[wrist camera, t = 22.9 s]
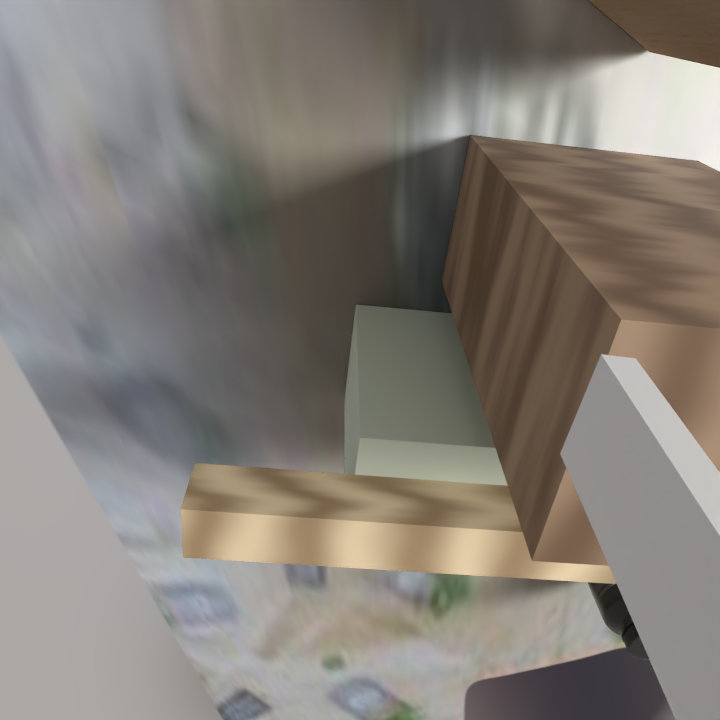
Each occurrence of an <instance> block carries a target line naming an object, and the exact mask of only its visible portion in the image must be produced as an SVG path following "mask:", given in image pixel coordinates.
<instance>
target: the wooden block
mask: <svg viewBox="0 0 720 720" xmlns="http://www.w3.org/2000/svg"><path fill="white" fill-rule="evenodd" d="M588 1H590V2H591V3H592V4H593V5H594V6H596V7H597V8H598V9H599V10H600V11H601V12H603V13H604V14H605V15H606V16H607V17H609V18H610V19H611V20H612V21H613V22H615V23H616V24H617V25H618V26H619V27H621V28H622V29H623V30H624V31H625V32H626V33H628V34H629V35H630V36H631V37H632V38H634V39H635V40H636V41H637V42H638V43H640V44H641V45H642V46H643V47H644V48H646V49H647V50H648V51H649V52H652V53H657V54H661V55H666V56H670V57H675V58H679V59H684V60H688V61H692V62H697V63H701V64H706V65H710V66H715V67H719V68H720V0H588Z"/></svg>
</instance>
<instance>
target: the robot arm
mask: <svg viewBox="0 0 720 720" xmlns="http://www.w3.org/2000/svg"><path fill="white" fill-rule="evenodd" d="M560 455H561V457H562V459H563V461H564V464H565V466H566V468H567V471H568V473H569V475H570V478H571V480H572V482H573V484H574V487H575V489H576V491H577V494H578V496H579V498H580V501H581V503H582V505H583V507H584V510H585V512H586V514H587V517H588V519H589V521H590V524H591V526H592V528H593V530H594V533H595V535H596V537H597V540H598V542H599V544H600V547H601V549H602V551H603V553H604V556H605V558H606V560H607V563H608V565H609V567H610V570H611V572H612V574H613V576H614V579H615V581H616V583H617V586H618V588H619V590H620V593H621V595H622V597H623V599H624V602H625V604H626V606H627V609H628V611H629V613H630V616H631V618H632V620H633V622H634V625H635V627H636V629H637V632H638V634H639V636H640V639H641V641H642V643H643V645H644V648H645V650H646V652H647V655H648V657H649V659H650V662H651V664H652V666H653V668H654V671H655V673H656V675H657V678H658V680H659V682H660V685H661V687H662V689H663V691H664V694H665V696H666V698H667V700H668V703H669V705H670V708H671V710H672V712H673V714H674V717H675V719H676V720H720V472H719V471H718V470H717V468H716V467H715V466H714V464H713V463H712V462H711V460H710V459H709V457H708V456H707V455H706V453H705V452H704V451H703V449H702V448H701V447H700V445H699V444H698V442H697V441H696V440H695V438H694V437H693V436H692V434H691V433H690V432H689V430H688V429H687V427H686V426H685V425H684V423H683V422H682V421H681V419H680V418H679V417H678V415H677V414H676V412H675V411H674V410H673V408H672V407H671V406H670V404H669V403H668V402H667V400H666V399H665V397H664V396H663V395H662V393H661V392H660V391H659V389H658V388H657V387H656V385H655V384H654V382H653V381H652V380H651V378H650V377H649V376H648V374H647V373H646V372H645V370H644V369H643V368H642V366H641V365H640V363H639V362H638V361H637V359H636V358H629V357H620V356H612V355H603V354H601V356H600V358H599V361H598V363H597V366H596V368H595V370H594V373H593V375H592V378H591V380H590V383H589V385H588V387H587V390H586V392H585V395H584V397H583V399H582V402H581V404H580V407H579V409H578V412H577V414H576V416H575V419H574V421H573V424H572V426H571V429H570V431H569V433H568V436H567V438H566V441H565V443H564V446H563V448H562V450H561V453H560Z"/></svg>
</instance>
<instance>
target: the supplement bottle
mask: <svg viewBox="0 0 720 720" xmlns="http://www.w3.org/2000/svg"><path fill="white" fill-rule="evenodd" d="M588 585H589V587H590V589H591V592H592V594H593V597H594V599H595V601H596V604H597V606H598V608H599V611H600V613H601V615H602V618H603V620H604V622H605V624H606V625H607V627H608V628H609V629H611V630H612V631H613V632H615V633H616V634H619V635H621V638H622V640H623V642H624V643H625V645H626V648H627V650H628V652H629V653H630V654H631V655H632V656H634V657H635V658H638V659H649V657H648V655H647V652H646V650H645V648H644V645H643V643H642V641H641V639H640V636H639V634H638V632H637V629H636V627H635V625H634V622H633V620H632V618H631V616H630V613H629V611H628V609H627V606H626V604H625V602H624V599H623V597H622V595H621V593H620V590H619V588H618V586H617V584H609V583H592V582H588Z"/></svg>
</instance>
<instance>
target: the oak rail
mask: <svg viewBox="0 0 720 720" xmlns="http://www.w3.org/2000/svg"><path fill="white" fill-rule="evenodd" d="M181 526H182V546H183V557H184V558H201V559H217V560H233V561H250V562H266V563H282V564H299V565H315V566H331V567H348V568H364V569H380V570H397V571H413V572H429V573H446V574H462V575H478V576H494V577H511V578H527V579H543V580H560V581H576V582H592V583H609V584H617V583H616V581H615V579H614V576H613V574H612V572H611V570H610V567H609V566H604V565H588V564H572V563H556V562H540V561H532V560H531V557H530V553H529V550H528V547H527V544H526V541H525V538H524V535H523V532H522V529H521V526H520V522H519V519H518V516H517V513H516V510H515V507H514V504H513V501H512V498H511V494H510V491H509V488H508V486H505V485H491V484H477V483H463V482H449V481H436V480H422V479H408V478H394V477H381V476H367V475H353V474H339V473H325V472H312V471H298V470H284V469H270V468H257V467H243V466H229V465H215V464H201V463H195V465H194V468H193V472H192V475H191V478H190V481H189V484H188V487H187V491H186V494H185V497H184V500H183V503H182V507H181Z"/></svg>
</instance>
